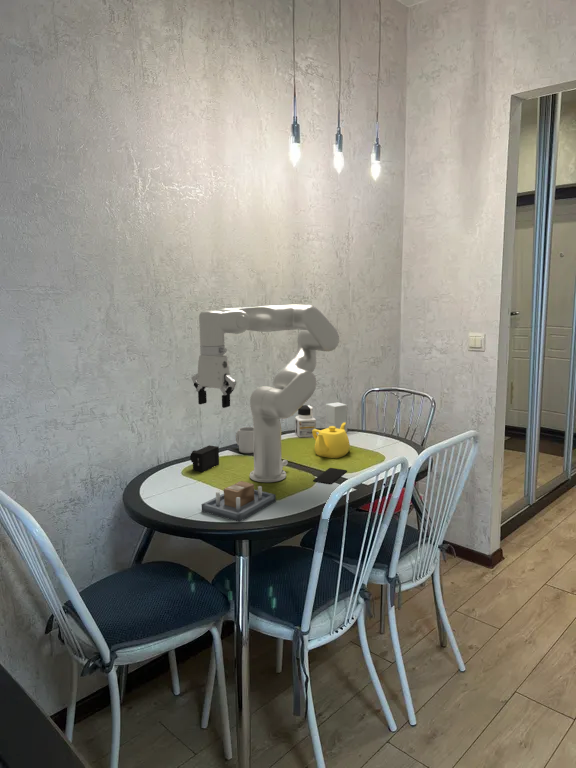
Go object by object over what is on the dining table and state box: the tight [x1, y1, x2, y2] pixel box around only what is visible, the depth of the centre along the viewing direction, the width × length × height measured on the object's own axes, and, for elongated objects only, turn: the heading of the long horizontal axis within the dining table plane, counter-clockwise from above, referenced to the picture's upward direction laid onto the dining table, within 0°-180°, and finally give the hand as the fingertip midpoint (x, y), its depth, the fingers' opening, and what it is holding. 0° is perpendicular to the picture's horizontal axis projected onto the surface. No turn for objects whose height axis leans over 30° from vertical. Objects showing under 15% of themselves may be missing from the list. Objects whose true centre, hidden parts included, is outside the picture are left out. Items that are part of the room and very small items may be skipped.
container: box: [294, 404, 317, 438], centre depth 247 cm, size 8×8×13 cm
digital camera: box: [189, 445, 220, 473], centre depth 204 cm, size 10×5×7 cm, turn 152°
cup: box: [235, 426, 254, 454], centre depth 224 cm, size 7×10×9 cm
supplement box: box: [325, 401, 348, 433], centre depth 252 cm, size 7×7×13 cm
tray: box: [201, 485, 277, 523], centre depth 168 cm, size 18×14×5 cm
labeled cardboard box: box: [223, 480, 255, 508], centre depth 167 cm, size 8×5×5 cm, turn 145°
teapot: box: [312, 422, 351, 459], centre depth 220 cm, size 22×16×11 cm
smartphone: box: [312, 467, 348, 485], centre depth 194 cm, size 7×1×15 cm
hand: (214, 405), depth 176 cm, fingers open, 9 cm apart
